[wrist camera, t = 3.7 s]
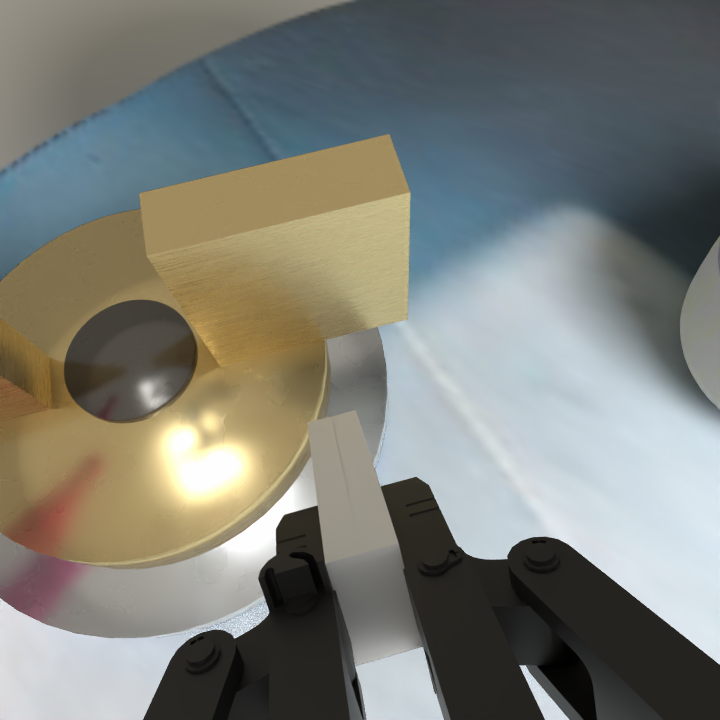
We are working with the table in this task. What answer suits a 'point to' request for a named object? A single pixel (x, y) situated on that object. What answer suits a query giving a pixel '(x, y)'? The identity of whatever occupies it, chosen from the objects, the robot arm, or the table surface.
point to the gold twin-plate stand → (190, 353)
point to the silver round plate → (207, 571)
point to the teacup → (704, 325)
